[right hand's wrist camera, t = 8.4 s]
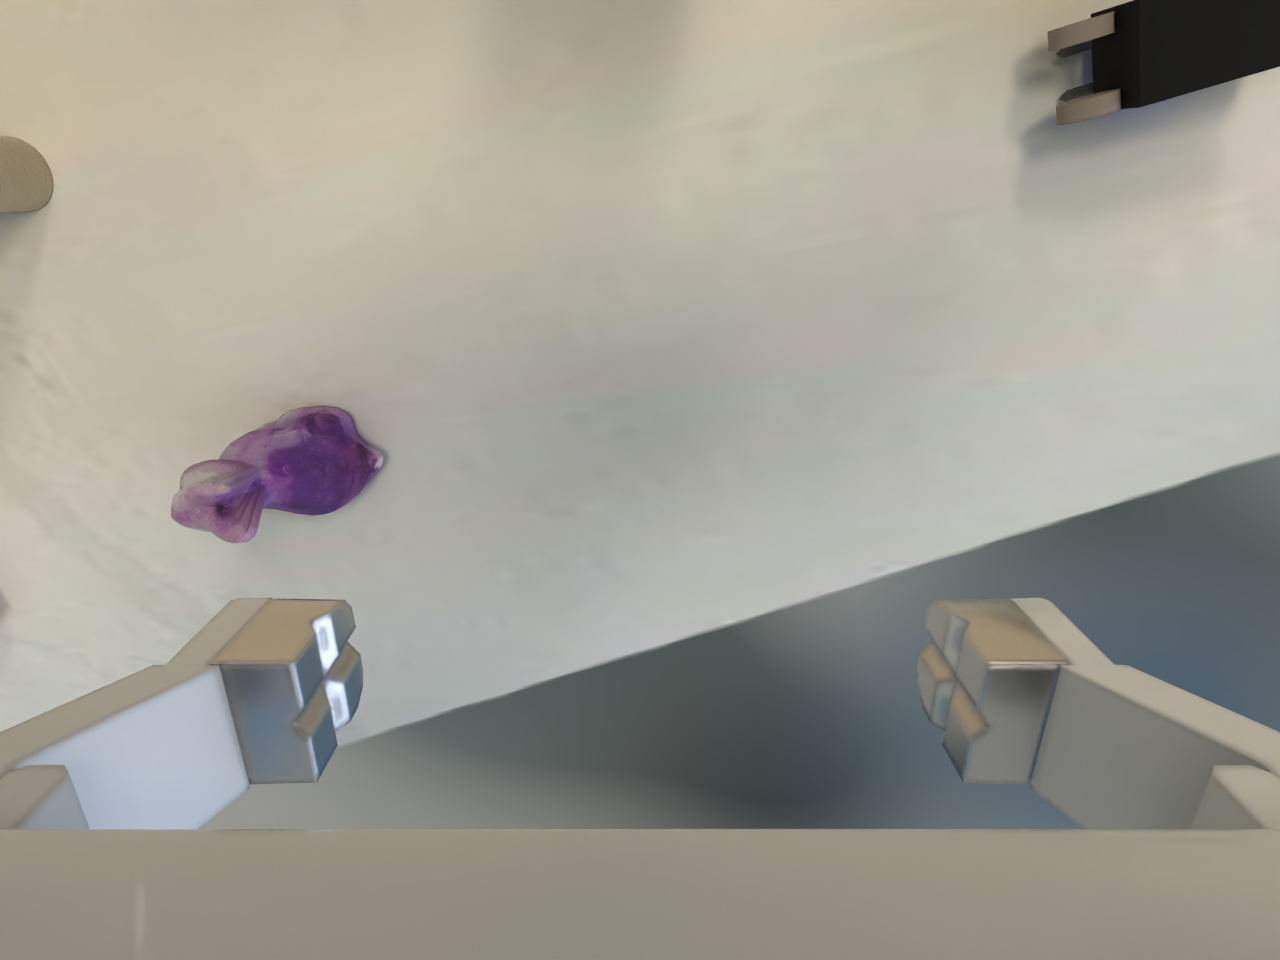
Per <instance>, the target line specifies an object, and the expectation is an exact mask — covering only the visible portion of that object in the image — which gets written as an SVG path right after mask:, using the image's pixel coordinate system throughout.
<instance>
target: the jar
mask: <svg viewBox="0 0 1280 960" xmlns="http://www.w3.org/2000/svg"><path fill="white" fill-rule="evenodd" d="M52 190H53V180H52V175H51V172H50V169H49V167H48V165H47V163H46V162H45V160H44V159H43V157H42V156H41V155H40V154H39V153H38V152H37V151H36V150H35V149H34V148H33V147H32V146H30V145H29V144H27V143H26V142H24V141H22V140H19V139H17V138H13V137H5V136H0V212H29V211H35V210H38V209H40V208H42V207H43V206H44V205H46V203H47V202H48V201H49V199H50V197H51V195H52Z"/></svg>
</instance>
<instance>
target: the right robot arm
mask: <svg viewBox="0 0 1280 960" xmlns="http://www.w3.org/2000/svg"><path fill="white" fill-rule="evenodd" d="M355 628H356V626H355V621H354V617H353V612H352V607H351V606H350V605H349V604H348V603H347V602H346V601H345V600H321V599H272V598H248V599H236V600H231V601H230V602H229V603H228V604H227V605H226V606H225V607H224V608H223V609H222V610H221V611H220V612H219V613H218V614H217V615H216V616H215V617H214V618H213V619H212V620H211V621H210V622H209V623H208V624H207V625H206V626H205V627H204V628H203V629H202V630H201V631H199V632H198V633H197V634H196V635H195V636H194V637H193V638H192V639H191V640H190V641H189V642H188V643H187V644H186V645H185V646H184V647H183V648H182V649H181V650H180V651H179V652H178V653H177V654H176V655H175V656H174V657H173V658H172V659H171V660H170V661H169V662H168V663H167V664H166V665H153V666H150V667H148V668H146V669H144V670H141V671H139V672H137V673H134V674H132V675H130V676H128V677H125V678H123V679H121V680H118V681H116V682H114V683H112V684H109V685H107V686H105V687H102V688H100V689H98V690H96V691H93V692H91V693H89V694H86V695H84V696H82V697H80V698H77V699H75V700H73V701H71V702H68V703H66V704H64V705H61V706H59V707H57V708H55V709H52V710H50V711H48V712H45V713H43V714H41V715H39V716H36V717H34V718H32V719H29V720H27V721H25V722H23V723H20V724H18V725H16V726H13V727H11V728H9V729H7V730H4V731H2V732H0V960H1280V732H1277V731H1275V730H1273V729H1271V728H1268V727H1266V726H1264V725H1262V724H1259V723H1257V722H1255V721H1252V720H1250V719H1248V718H1246V717H1243V716H1241V715H1239V714H1237V713H1234V712H1232V711H1230V710H1227V709H1225V708H1223V707H1221V706H1218V705H1216V704H1214V703H1212V702H1209V701H1207V700H1205V699H1202V698H1200V697H1198V696H1196V695H1193V694H1191V693H1189V692H1186V691H1184V690H1182V689H1180V688H1177V687H1175V686H1173V685H1171V684H1168V683H1166V682H1164V681H1161V680H1159V679H1157V678H1155V677H1152V676H1150V675H1148V674H1146V673H1143V672H1141V671H1139V670H1136V669H1134V668H1132V667H1130V666H1127V665H1114V664H1113V663H1112V662H1111V661H1110V660H1109V659H1108V658H1107V657H1106V656H1105V655H1104V654H1103V653H1102V652H1101V651H1100V650H1099V649H1098V648H1097V647H1096V646H1095V645H1094V644H1093V643H1092V642H1091V641H1090V640H1089V639H1088V638H1087V637H1086V636H1085V635H1084V634H1083V633H1082V632H1081V631H1080V630H1079V629H1078V628H1077V627H1076V626H1075V625H1074V624H1073V623H1072V622H1071V621H1070V620H1068V618H1066V617H1065V616H1064V615H1063V614H1062V613H1061V612H1060V611H1059V610H1058V609H1057V608H1056V607H1055V606H1054V605H1053V604H1052V603H1051V602H1050V601H1048V600H1045V599H1042V598H1024V599H990V600H949V601H932V603H931V605H930V607H929V609H928V611H927V615H926V621H925V626H924V628H925V629H926V631H927V632H928V634H929V636H930V637H931V639H932V640H933V641H932V642H931V643H930V644H929V646H927V647H926V649H925V650H924V651H923V652H922V653H921V654H920V656H919V663H918V671H917V681H918V693H919V697H920V701H921V704H922V707H923V710H924V712H925V714H926V716H927V717H928V719H929V721H930V722H931V723H932V724H934V725H935V726H937V727H938V728H940V729H941V730H943V731H945V735H944V740H943V747H944V749H945V751H946V752H947V754H948V756H949V758H950V760H951V761H952V763H953V765H954V767H955V769H956V770H957V772H958V774H959V776H960V778H961V779H962V781H963V782H964V783H1001V784H1030V788H1031V789H1033V790H1034V791H1035V792H1036V793H1038V794H1039V795H1040V796H1042V797H1043V798H1044V799H1045V800H1047V801H1048V802H1049V803H1051V804H1052V805H1053V806H1054V807H1056V808H1057V809H1058V810H1060V811H1061V812H1062V813H1063V814H1065V815H1066V816H1067V817H1069V818H1070V819H1071V820H1072V821H1074V822H1075V823H1076V824H1077V825H1079V826H1080V827H1081V828H1083V829H198V828H199V827H200V826H201V825H203V824H204V823H205V822H207V821H208V820H209V819H210V818H212V817H213V816H214V815H216V814H217V813H218V812H219V811H221V810H222V809H223V808H225V807H226V806H227V805H228V804H230V803H231V802H232V801H234V800H235V799H236V798H237V797H239V796H240V795H241V794H243V793H244V792H245V791H246V790H248V789H249V788H250V784H278V783H313V782H317V781H318V780H319V778H320V776H321V774H322V772H323V770H324V769H325V767H326V765H327V763H328V761H329V760H330V758H331V756H332V754H333V752H334V751H335V749H336V747H337V740H336V735H335V731H337V730H339V729H340V728H342V727H343V726H345V725H346V724H348V723H349V722H350V721H351V719H352V717H353V715H354V714H355V712H356V710H357V708H358V704H359V700H360V696H361V691H362V687H363V668H362V662H361V655H360V654H359V653H358V652H357V651H356V650H355V648H354V647H353V646H352V645H351V644H350V643H349V642H348V641H347V640H348V639H349V637H350V636H351V634H352V632H353V631H354V629H355Z"/></svg>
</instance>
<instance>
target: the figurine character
mask: <svg viewBox="0 0 1280 960" xmlns="http://www.w3.org/2000/svg"><path fill="white" fill-rule="evenodd" d="M1048 48H1049V52H1051V51H1055V50H1058V49H1060V51H1059V52H1058V53H1057V54H1056V55H1059V56H1061V57H1063V58H1065V57H1068V56H1071V55H1074V54H1077V53H1080V52H1083V51H1086V50H1089V49H1092V70H1093V83H1089V84H1086V85H1083V86H1080V87H1077V88H1074V89H1071V90H1068V91H1066V92H1065V93H1064V94H1063V95H1062V96H1061V98H1060V99H1061V100H1064V101H1066V102H1063V103H1060V104H1058V105H1056V116H1057V125H1064V124H1069V123H1074V122H1079V121H1083V120H1087V119H1091V118H1095V117H1098V116H1102V115H1105V114H1108V113H1112V112H1114V111H1117V110H1119V109H1126V108H1138V107H1142V106H1146V105H1149V104H1153V103H1156V102H1160V101H1165V100H1166V99H1170V98H1173V97H1177V96H1180V95H1183V94H1187V93H1190V92H1194V91H1197V90H1201V89H1204V88H1207V87H1211V86H1214V85H1218V84H1221V83H1224V82H1228V81H1231V80H1235V79H1238V78H1241V77H1245V76H1248V75H1252V74H1255V73H1259V72H1262V71H1265V70H1269V69H1272V68H1276V67H1279V66H1280V0H1134V1H1131V2H1128V3H1125V4H1121V5H1118V6H1115V7H1112V8H1109V9H1106V10H1103V11H1099V12H1096V13H1093V14H1091V18H1090V19H1087V20H1084V21H1081V22H1077V23H1074V24H1071V25H1068V26H1065V27H1061V28H1058V29H1055V30H1052V31H1049V32H1048Z"/></svg>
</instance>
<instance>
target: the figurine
mask: <svg viewBox="0 0 1280 960" xmlns="http://www.w3.org/2000/svg"><path fill="white" fill-rule="evenodd" d="M382 464H383V457H382V455H381V453H380V452H379V451H378V450H376V449H374V448H373V447H371V446H370V445H368V444H367V443H365V442H364V441H362V439H361V438H360V437H359V435H358V433H357V431H356V430H355V427H354V424H353V421H352V418H351V417H350V415H349V414H347V413H346V412H345V411H343V410H341V409H338V408H335V407H326V406H321V407H304V408H298V409H294V410H291V411H289V412H287V413H285V414H283V415H282V416H281V417H280V418H279V420H278V421H276V422H272V423H269V424H265V425H263V426H261V427H260V428H259V429H258V430H255V431H252V432H249V433H247V434H245V435H243V436H242V437H240V438H238V439H237V440H235V441H233V442H232V443H231V444H230V445H229V446H228V447H227V448H226V449H225V450H224V452H223V453H222V454H221V456H220V458H219V460H208V461H204V462H200V463H197V464H194V465H192V466H191V467H189V468H188V469H186V470H185V471H184V473H183V474H182V476H181V479H180V490H179V491H178V492H177V493H176V494H175V495H174V497H173V501H172V508H171V517H172V518H173V519H174V520H175V521H176V522H178V523H179V524H181V525H183V526H185V527H188V528H192V529H196V530H202V531H208V532H212V533H213V534H215V535H216V536H217V537H219V538H221V539H223V540H225V541H227V542H231V543H243V542H246V541H249V540H250V539H251V538H253V537H254V536H255V534H256V532H257V529H258V525H259V521H260V516H261V512H262V509H263V508H268V509H278V510H283V511H288V512H292V513H296V514H305V515H321V514H326V513H330V512H333V511H335V510H337V509H339V508H341V507H342V506H344V505H345V504H347V503H348V502H349V501H351V500H352V499H353V498H354V497H355V496H356V495H357V494H358V493H359V492H360V491H361V490H362V488H363V487H364V486H365V484H366V483H367V482H368V481H369V480H370V479H371V478H372V477H373V476H374V475H375V473H376V472H377V471H378V470H379V469H380V468H381V466H382Z"/></svg>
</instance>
